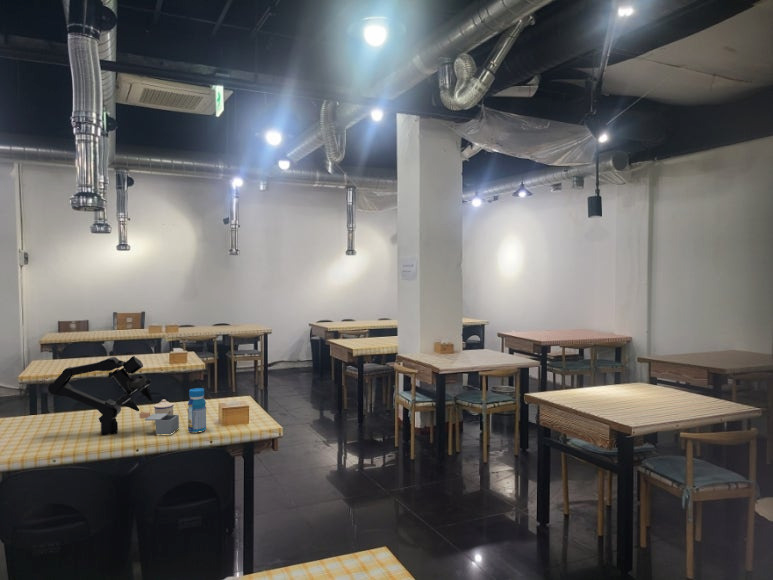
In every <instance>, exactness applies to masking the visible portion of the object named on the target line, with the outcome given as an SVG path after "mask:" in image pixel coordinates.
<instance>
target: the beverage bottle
mask: <svg viewBox="0 0 773 580" xmlns="http://www.w3.org/2000/svg"><path fill="white" fill-rule="evenodd" d="M188 392H189V393H188V396H189V400H188V401H187V406H188V408H187V431H189V432H188V433H190V432H199V431H204V430H205V431H207V406H206V405H207V401H206V399H205V389H204V388H203V387H202V388H201V387H196V388H191V389H189V391H188ZM205 431H204V432H205Z"/></svg>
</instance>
